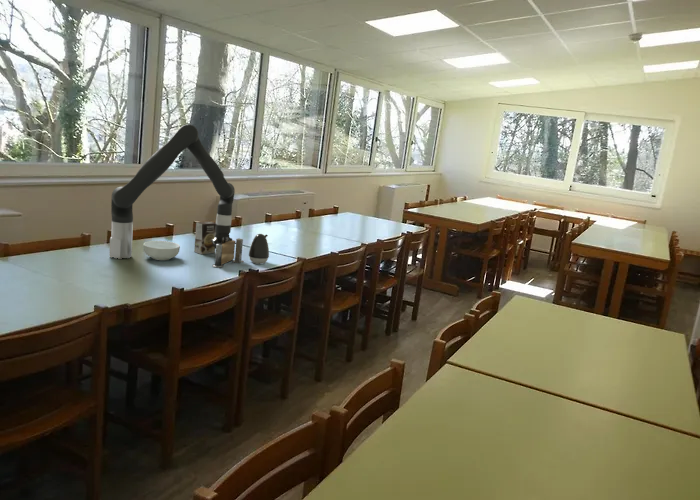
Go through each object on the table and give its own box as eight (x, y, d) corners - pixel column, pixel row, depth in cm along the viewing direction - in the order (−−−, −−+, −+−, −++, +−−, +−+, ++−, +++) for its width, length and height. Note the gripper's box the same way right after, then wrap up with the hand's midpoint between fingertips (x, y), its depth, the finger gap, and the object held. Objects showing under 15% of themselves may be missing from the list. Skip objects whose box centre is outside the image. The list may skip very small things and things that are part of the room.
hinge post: (219, 268, 257) (221, 246, 255) (210, 266, 258) (211, 244, 256) (224, 266, 262) (226, 244, 260) (215, 264, 263) (217, 242, 261)
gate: (217, 264, 262) (218, 245, 260) (230, 258, 276) (231, 240, 274) (221, 265, 262) (222, 245, 259) (234, 259, 275) (235, 240, 273)
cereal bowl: (167, 264, 253) (168, 250, 251) (135, 259, 256) (136, 244, 254) (185, 257, 269) (186, 243, 268) (155, 252, 272) (156, 238, 271)
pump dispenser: (272, 263, 278) (275, 234, 275) (259, 266, 269) (261, 236, 266) (257, 259, 283) (259, 230, 280) (244, 262, 274) (246, 232, 271)
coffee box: (201, 254, 278) (203, 224, 275) (193, 251, 282) (195, 221, 279) (215, 252, 286) (217, 223, 282) (208, 250, 289) (209, 220, 286)
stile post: (239, 263, 270) (241, 240, 267) (231, 262, 271) (233, 238, 269) (243, 262, 274) (245, 239, 272) (236, 260, 275) (237, 237, 273)
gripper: (227, 221, 275) (224, 253, 278) (208, 222, 263) (205, 256, 267) (238, 223, 271) (235, 257, 275) (219, 225, 260) (216, 260, 263)
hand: (220, 256), depth 271 cm, fingers closed
